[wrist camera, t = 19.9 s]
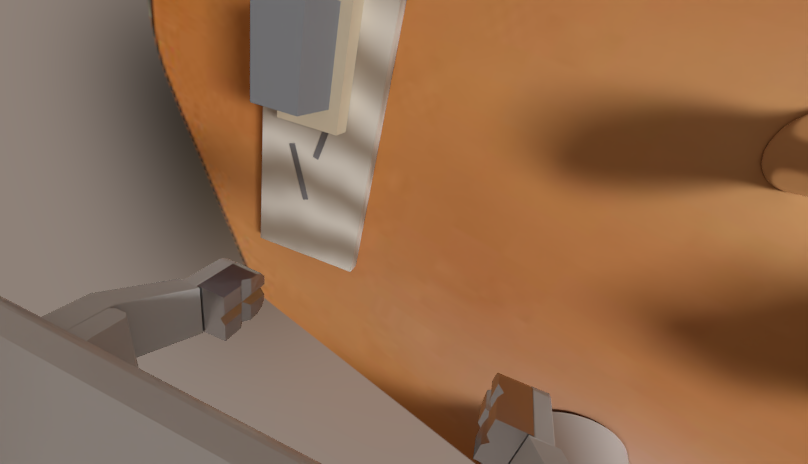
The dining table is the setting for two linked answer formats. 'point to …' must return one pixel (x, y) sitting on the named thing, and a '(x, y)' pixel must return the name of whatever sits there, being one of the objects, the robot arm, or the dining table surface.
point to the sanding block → (305, 59)
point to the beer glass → (788, 158)
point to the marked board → (331, 155)
